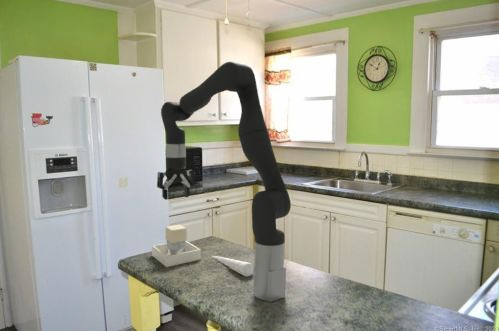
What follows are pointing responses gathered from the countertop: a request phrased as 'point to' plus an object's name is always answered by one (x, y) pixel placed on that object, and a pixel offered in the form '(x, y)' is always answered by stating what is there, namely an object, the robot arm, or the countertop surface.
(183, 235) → the carton
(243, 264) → the unicorn horn
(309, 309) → the countertop surface
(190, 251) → the box
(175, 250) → the tin can
